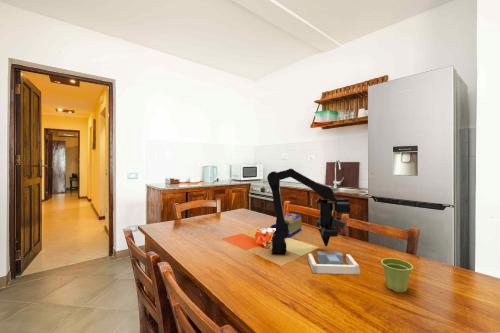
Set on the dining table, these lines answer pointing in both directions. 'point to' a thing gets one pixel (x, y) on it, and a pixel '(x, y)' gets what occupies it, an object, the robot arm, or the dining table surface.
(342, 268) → the u-shaped frame
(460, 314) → the dining table surface
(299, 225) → the blue and olive box
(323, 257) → the t block
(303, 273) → the dining table surface
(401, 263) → the plant pot
